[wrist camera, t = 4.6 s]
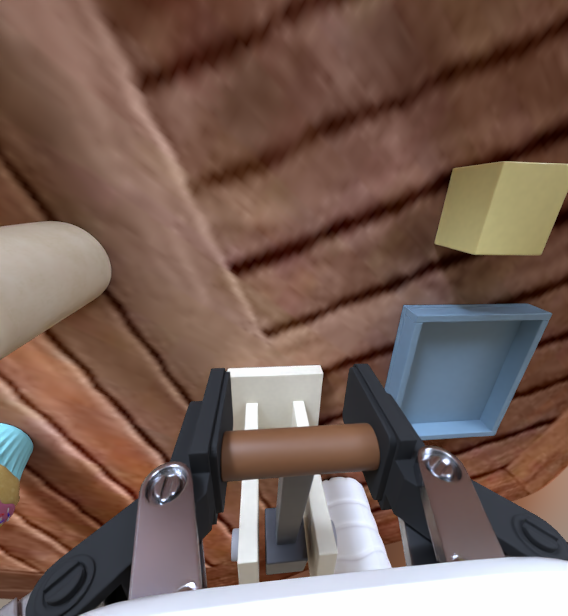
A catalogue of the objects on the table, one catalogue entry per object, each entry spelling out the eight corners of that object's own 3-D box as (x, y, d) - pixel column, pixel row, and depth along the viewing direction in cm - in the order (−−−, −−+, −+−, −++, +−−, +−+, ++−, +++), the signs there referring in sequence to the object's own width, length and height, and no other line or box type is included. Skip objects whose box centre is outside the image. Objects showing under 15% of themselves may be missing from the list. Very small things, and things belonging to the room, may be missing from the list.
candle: (73, 205, 16) (-164, 218, 7) (130, 281, 18) (4, 367, 9) (0, 242, 17) (-310, 300, 8) (64, 312, 19) (-117, 423, 10)
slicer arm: (225, 409, 9) (216, 489, 7) (364, 402, 9) (392, 475, 8) (243, 525, 17) (241, 577, 15) (319, 517, 17) (326, 568, 15)
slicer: (227, 368, 22) (199, 533, 11) (320, 364, 23) (376, 516, 12) (233, 450, 26) (216, 631, 15) (312, 445, 27) (349, 614, 16)
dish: (403, 304, 21) (417, 315, 19) (527, 303, 22) (552, 313, 20) (376, 424, 26) (385, 442, 25) (478, 419, 27) (494, 435, 26)
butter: (452, 168, 17) (504, 160, 14) (513, 170, 18) (579, 164, 14) (433, 244, 19) (474, 255, 16) (489, 244, 20) (541, 255, 16)
